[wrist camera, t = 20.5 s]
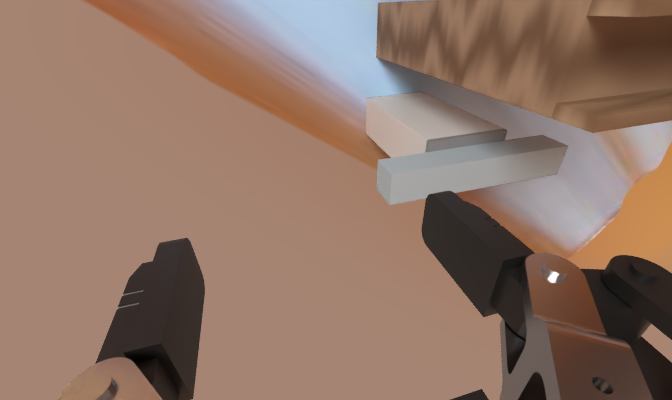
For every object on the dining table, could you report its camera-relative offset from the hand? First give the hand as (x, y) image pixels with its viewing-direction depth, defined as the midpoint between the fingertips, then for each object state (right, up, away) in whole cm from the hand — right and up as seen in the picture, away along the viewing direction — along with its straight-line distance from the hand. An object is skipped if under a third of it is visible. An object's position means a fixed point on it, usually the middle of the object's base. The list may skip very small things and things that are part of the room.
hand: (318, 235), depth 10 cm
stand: (+13, +27, +36) cm, 47 cm away
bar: (+16, +6, +26) cm, 31 cm away
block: (+11, +16, +42) cm, 46 cm away
